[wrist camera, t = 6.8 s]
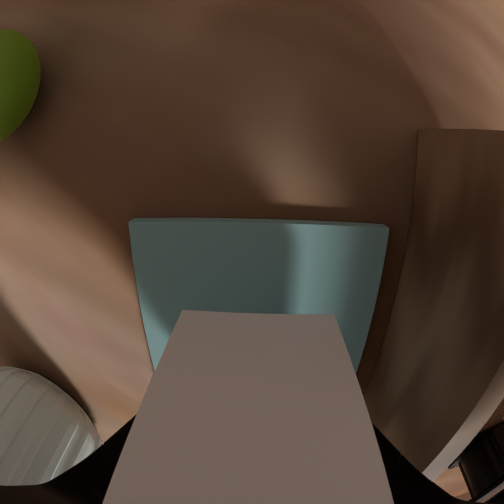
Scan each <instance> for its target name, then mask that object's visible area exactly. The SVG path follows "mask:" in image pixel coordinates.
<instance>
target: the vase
mask: <svg viewBox="0 0 504 504" xmlns="http://www.w3.org/2000/svg"><path fill="white" fill-rule="evenodd" d="M102 444H103V442H102V440H101V438H100V436H99V434H98V432H97V430H96V428H95V427H94V426H93V424H92V422H91V420H90V418H89V417H88V415H87V414H86V413H85V412H84V410H83V409H82V408H81V407H80V406H79V405H78V404H77V403H76V402H75V401H74V400H73V399H72V398H71V397H70V396H69V395H68V394H67V393H66V392H64V391H63V390H62V389H61V388H59V387H58V386H57V385H55V384H54V383H52V382H51V381H49V380H48V379H46V378H44V377H42V376H41V375H38V374H36V373H34V372H31V371H27V370H24V369H20V368H16V367H12V366H2V367H0V485H5V486H15V485H38V484H42V483H45V482H48V481H50V480H52V479H54V478H55V477H57V476H59V475H60V474H62V473H63V472H65V471H67V470H68V469H70V468H71V467H73V466H75V465H76V464H78V463H79V462H81V461H82V460H83V459H85V458H86V457H88V456H89V455H90V454H91V453H93V452H94V451H95V450H96V449H97V448H99V447H100V446H101V445H102Z"/></svg>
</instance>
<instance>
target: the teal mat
mask: <svg viewBox="0 0 504 504" xmlns="http://www.w3.org/2000/svg"><path fill="white" fill-rule="evenodd" d="M128 225H129V234H130V243H131V251H132V259H133V266H134V273H135V279H136V285H137V291H138V297H139V303H140V308H141V313H142V318H143V323H144V328H145V333H146V337H147V342H148V346H149V351H150V355H151V359H152V363H153V367H154V371H155V370H156V367H157V365H158V363H159V361H160V358H161V356H162V354H163V351H164V349H165V347H166V345H167V342H168V340H169V338H170V336H171V334H172V331H173V329H174V327H175V325H176V323H177V320H178V318H179V316H180V314H181V312H182V310H194V311H212V312H233V313H262V314H334V315H335V318H336V320H337V323H338V326H339V329H340V331H341V334H342V337H343V340H344V342H345V345H346V348H347V351H348V353H349V356H350V359H351V362H352V365H353V368H354V371H355V374H356V373H357V370H358V367H359V363H360V360H361V357H362V353H363V350H364V346H365V343H366V339H367V335H368V332H369V328H370V324H371V320H372V316H373V312H374V308H375V303H376V299H377V294H378V290H379V285H380V280H381V275H382V270H383V265H384V259H385V254H386V248H387V241H388V235H389V228H388V227H387V226H386V225H384V224H373V223H355V222H336V221H313V220H285V219H248V218H133V219H132V220H130V221H129V222H128Z"/></svg>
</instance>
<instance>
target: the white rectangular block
mask: <svg viewBox="0 0 504 504" xmlns="http://www.w3.org/2000/svg"><path fill="white" fill-rule="evenodd" d="M102 504H394V502H393V498H392V494H391V490H390V486H389V482H388V479H387V475H386V471H385V467H384V464H383V460H382V457H381V453H380V450H379V446H378V443H377V439H376V436H375V433H374V429H373V426H372V423H371V420H370V416H369V413H368V410H367V407H366V404H365V401H364V398H363V395H362V391H361V388H360V385H359V382H358V380H357V377H356V374H355V371H354V368H353V365H352V362H351V359H350V356H349V353H348V351H347V348H346V345H345V342H344V340H343V337H342V334H341V331H340V329H339V326H338V323H337V320H336V318H335V315H334V314H262V313H233V312H212V311H194V310H182V312H181V314H180V316H179V318H178V320H177V323H176V325H175V327H174V329H173V331H172V334H171V336H170V338H169V340H168V342H167V345H166V347H165V349H164V351H163V354H162V356H161V358H160V361H159V363H158V365H157V367H156V370H155V372H154V374H153V377H152V379H151V381H150V384H149V386H148V388H147V391H146V393H145V395H144V398H143V400H142V403H141V405H140V407H139V410H138V412H137V415H136V417H135V420H134V422H133V425H132V427H131V429H130V432H129V434H128V437H127V440H126V442H125V445H124V447H123V450H122V452H121V455H120V457H119V460H118V463H117V465H116V468H115V471H114V473H113V476H112V479H111V481H110V484H109V487H108V490H107V492H106V495H105V498H104V501H103V503H102Z"/></svg>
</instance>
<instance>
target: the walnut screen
mask: <svg viewBox="0 0 504 504" xmlns="http://www.w3.org/2000/svg"><path fill="white" fill-rule="evenodd" d="M363 398H364V401H365V404H366V407H367V410H368V413H369V416H370V420H371V422H372V423H373V424H374V425H375V426H376V427H377V428H378V429H379V430H380V432H381V433H382V434H383V435H384V436H385V437H386V438H387V439H388V440H389V441H390V442H391V443H392V444H393V445H394V446H395V447H396V448H397V449H398V451H399V452H400V453H401V455H403V456H404V457H405V458H406V459H407V460H408V461H409V462H410V463H411V464H412V465H413V466H414V467H415V468H416V469H418V470H419V471H420V472H421V473H422V474H424V475H425V476H426V477H427V478H428V479H430V480H431V481H432V482H433V481H434V480H435V479H436V478H437V477H438V476H439V475H440V474H441V473H442V472H443V471H444V470H445V469H446V468H447V467H448V466H449V465H450V464H451V463H452V462H453V461H454V460H455V459H456V458H457V457H458V456H459V454H460V453H461V452H462V451H463V450H464V449H465V448H466V447H467V445H468V444H469V443H470V442H471V441H472V440H473V438H474V437H475V436H476V435H477V434H478V432H479V431H480V430H481V428H482V427H483V426H484V425H485V423H486V422H487V421H488V419H489V418H490V417H491V415H492V414H493V413H494V411H495V410H496V408H497V407H498V405H499V404H500V403H501V401H502V400H503V398H504V131H500V130H479V129H425V130H418V148H417V164H416V177H415V187H414V196H413V205H412V212H411V220H410V226H409V233H408V239H407V244H406V250H405V255H404V260H403V265H402V270H401V275H400V279H399V284H398V288H397V292H396V296H395V300H394V304H393V308H392V312H391V316H390V319H389V323H388V326H387V330H386V333H385V336H384V340H383V343H382V346H381V349H380V352H379V355H378V358H377V361H376V364H375V367H374V370H373V373H372V376H371V378H370V381H369V384H368V387H367V389H366V392H365V394H364V397H363Z"/></svg>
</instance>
